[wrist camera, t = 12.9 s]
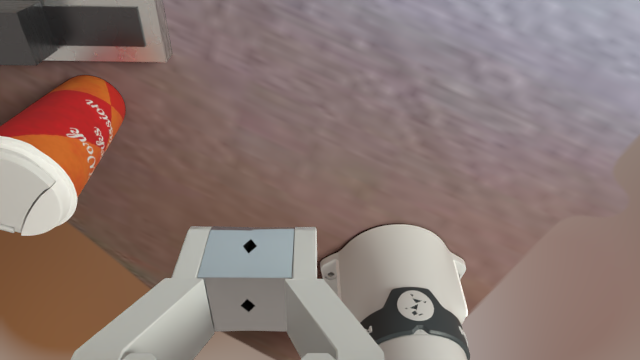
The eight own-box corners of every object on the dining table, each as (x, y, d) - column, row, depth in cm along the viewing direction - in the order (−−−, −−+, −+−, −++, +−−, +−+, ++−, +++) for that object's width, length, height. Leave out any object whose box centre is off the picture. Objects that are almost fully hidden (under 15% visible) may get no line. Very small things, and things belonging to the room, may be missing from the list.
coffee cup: (129, 150, 45) (61, 253, 33) (45, 121, 43) (-59, 220, 31) (146, 83, 41) (75, 173, 29) (54, 46, 39) (-65, 128, 27)
